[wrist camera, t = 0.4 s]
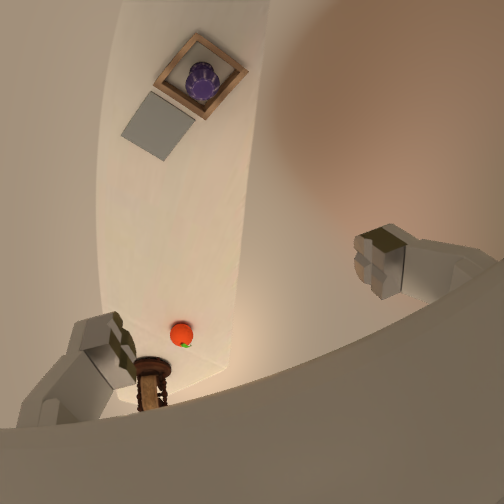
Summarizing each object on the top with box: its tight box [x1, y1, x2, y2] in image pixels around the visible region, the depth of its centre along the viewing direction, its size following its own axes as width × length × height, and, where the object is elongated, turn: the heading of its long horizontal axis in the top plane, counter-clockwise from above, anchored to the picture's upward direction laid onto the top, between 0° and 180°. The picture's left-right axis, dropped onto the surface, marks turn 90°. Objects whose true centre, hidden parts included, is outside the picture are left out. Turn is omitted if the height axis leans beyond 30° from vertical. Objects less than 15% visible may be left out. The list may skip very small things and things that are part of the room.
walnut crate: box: [153, 33, 249, 120], centre depth 44 cm, size 11×11×5 cm
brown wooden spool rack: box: [133, 357, 171, 412], centre depth 95 cm, size 15×15×20 cm
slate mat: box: [121, 91, 195, 161], centre depth 51 cm, size 10×10×1 cm
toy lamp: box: [185, 62, 220, 101], centre depth 40 cm, size 5×5×17 cm
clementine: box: [170, 324, 193, 348], centre depth 87 cm, size 8×7×7 cm
